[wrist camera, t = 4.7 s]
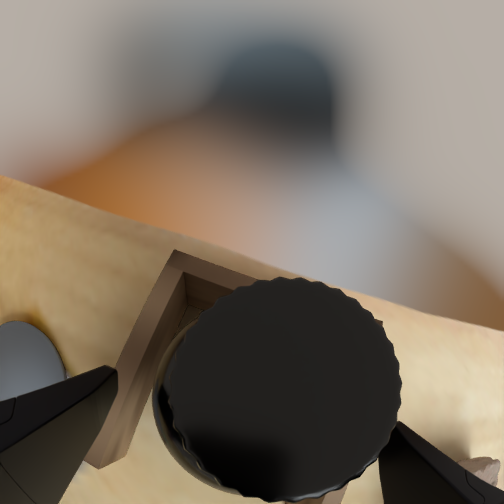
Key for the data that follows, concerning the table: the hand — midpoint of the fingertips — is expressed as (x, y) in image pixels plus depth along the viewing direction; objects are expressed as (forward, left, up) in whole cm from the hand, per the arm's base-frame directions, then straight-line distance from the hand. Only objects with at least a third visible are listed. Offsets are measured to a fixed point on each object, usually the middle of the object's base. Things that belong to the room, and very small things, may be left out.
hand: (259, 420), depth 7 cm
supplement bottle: (0, 0, -9) cm, 9 cm away
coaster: (-13, +8, -8) cm, 17 cm away
